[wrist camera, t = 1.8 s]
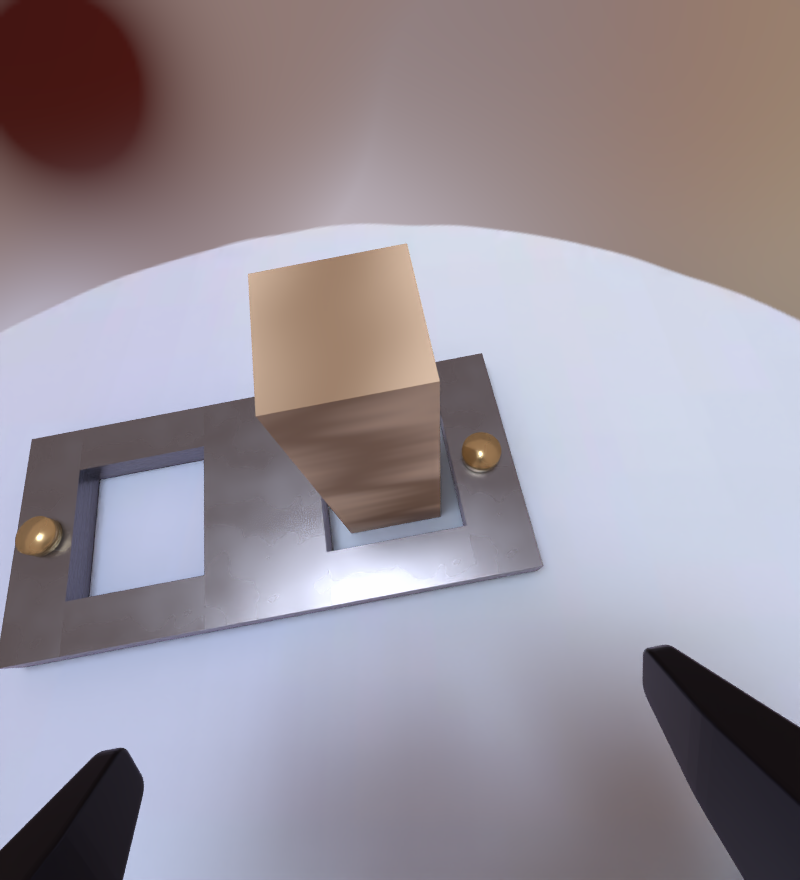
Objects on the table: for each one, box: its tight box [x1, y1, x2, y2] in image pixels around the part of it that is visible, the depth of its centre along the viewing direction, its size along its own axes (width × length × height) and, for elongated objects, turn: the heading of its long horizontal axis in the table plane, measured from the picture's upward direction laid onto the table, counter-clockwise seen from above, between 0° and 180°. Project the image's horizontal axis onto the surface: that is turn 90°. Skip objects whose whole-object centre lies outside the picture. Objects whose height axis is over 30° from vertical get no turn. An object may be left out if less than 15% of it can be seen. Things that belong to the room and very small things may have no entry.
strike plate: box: [0, 353, 543, 669], centre depth 23 cm, size 24×11×2 cm, turn 100°
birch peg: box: [248, 244, 440, 533], centre depth 18 cm, size 4×4×13 cm
